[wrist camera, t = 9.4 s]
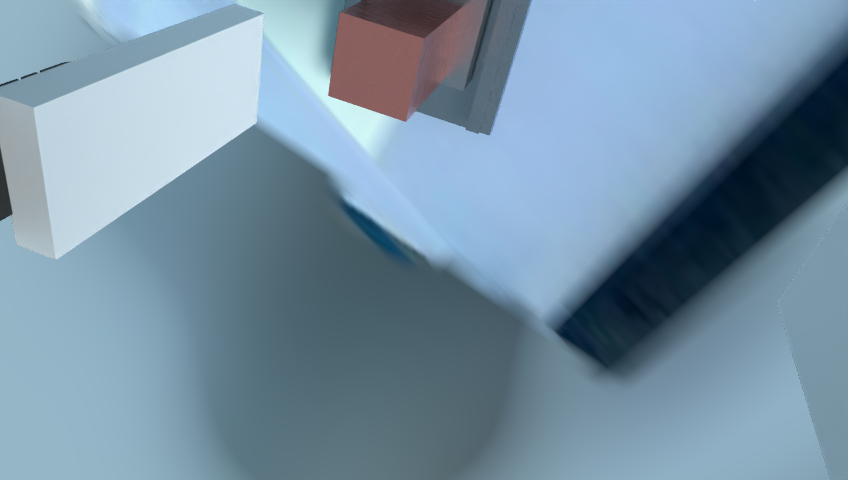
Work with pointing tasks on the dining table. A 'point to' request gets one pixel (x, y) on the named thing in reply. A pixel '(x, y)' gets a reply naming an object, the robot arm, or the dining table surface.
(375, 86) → the block
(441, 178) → the dining table surface
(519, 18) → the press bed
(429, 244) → the dining table surface
